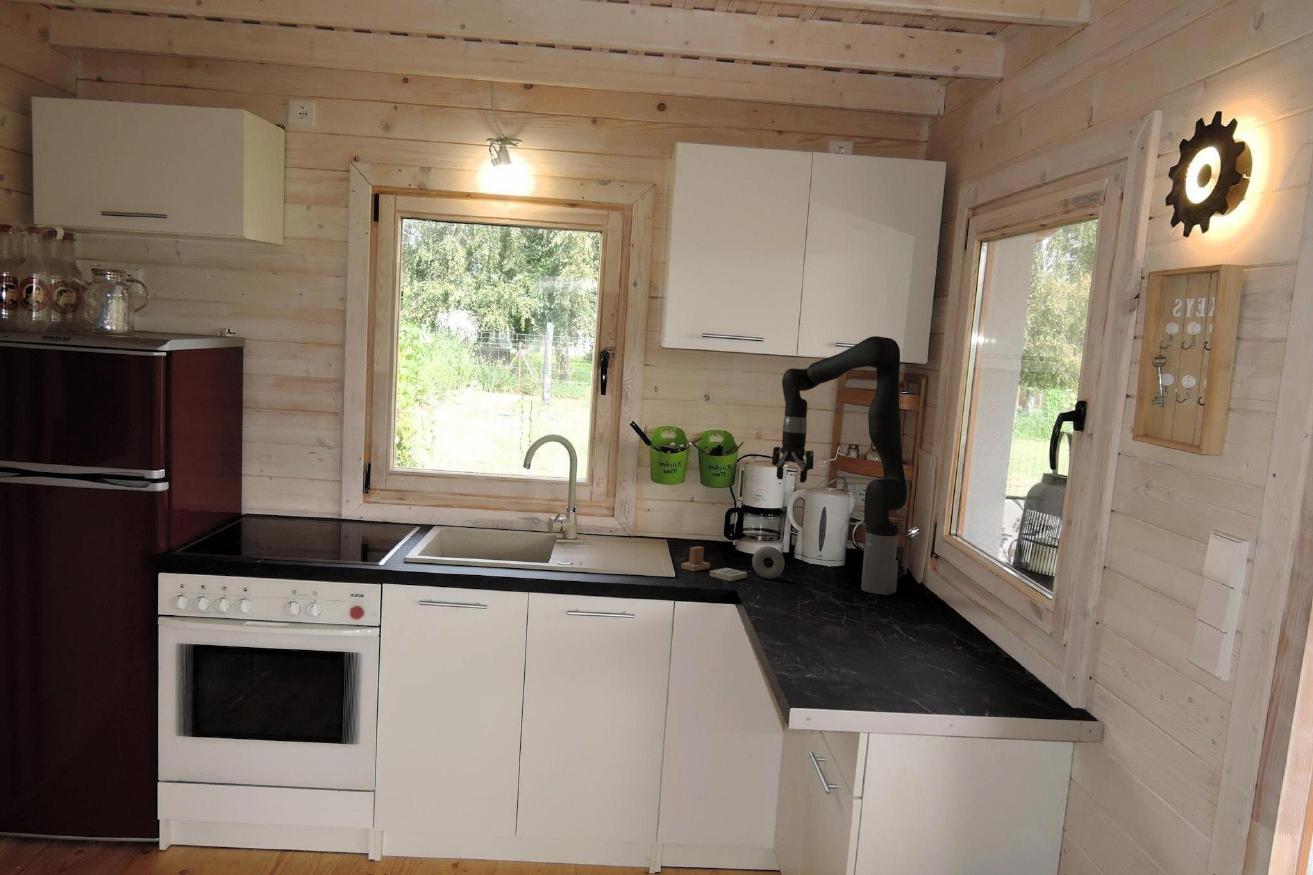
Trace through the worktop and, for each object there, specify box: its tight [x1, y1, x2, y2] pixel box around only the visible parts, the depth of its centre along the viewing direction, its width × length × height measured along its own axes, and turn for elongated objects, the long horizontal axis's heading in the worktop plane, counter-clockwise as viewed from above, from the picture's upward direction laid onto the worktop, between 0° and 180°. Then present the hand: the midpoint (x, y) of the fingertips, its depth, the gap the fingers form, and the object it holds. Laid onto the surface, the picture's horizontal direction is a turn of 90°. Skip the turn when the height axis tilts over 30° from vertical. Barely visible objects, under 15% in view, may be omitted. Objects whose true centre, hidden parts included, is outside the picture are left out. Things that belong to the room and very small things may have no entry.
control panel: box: [709, 567, 748, 582], centre depth 280 cm, size 8×8×2 cm
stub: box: [680, 546, 711, 572], centre depth 289 cm, size 5×8×6 cm, turn 138°
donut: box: [751, 545, 786, 580], centre depth 280 cm, size 10×4×10 cm, turn 68°
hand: (791, 480), depth 299 cm, fingers open, 8 cm apart
